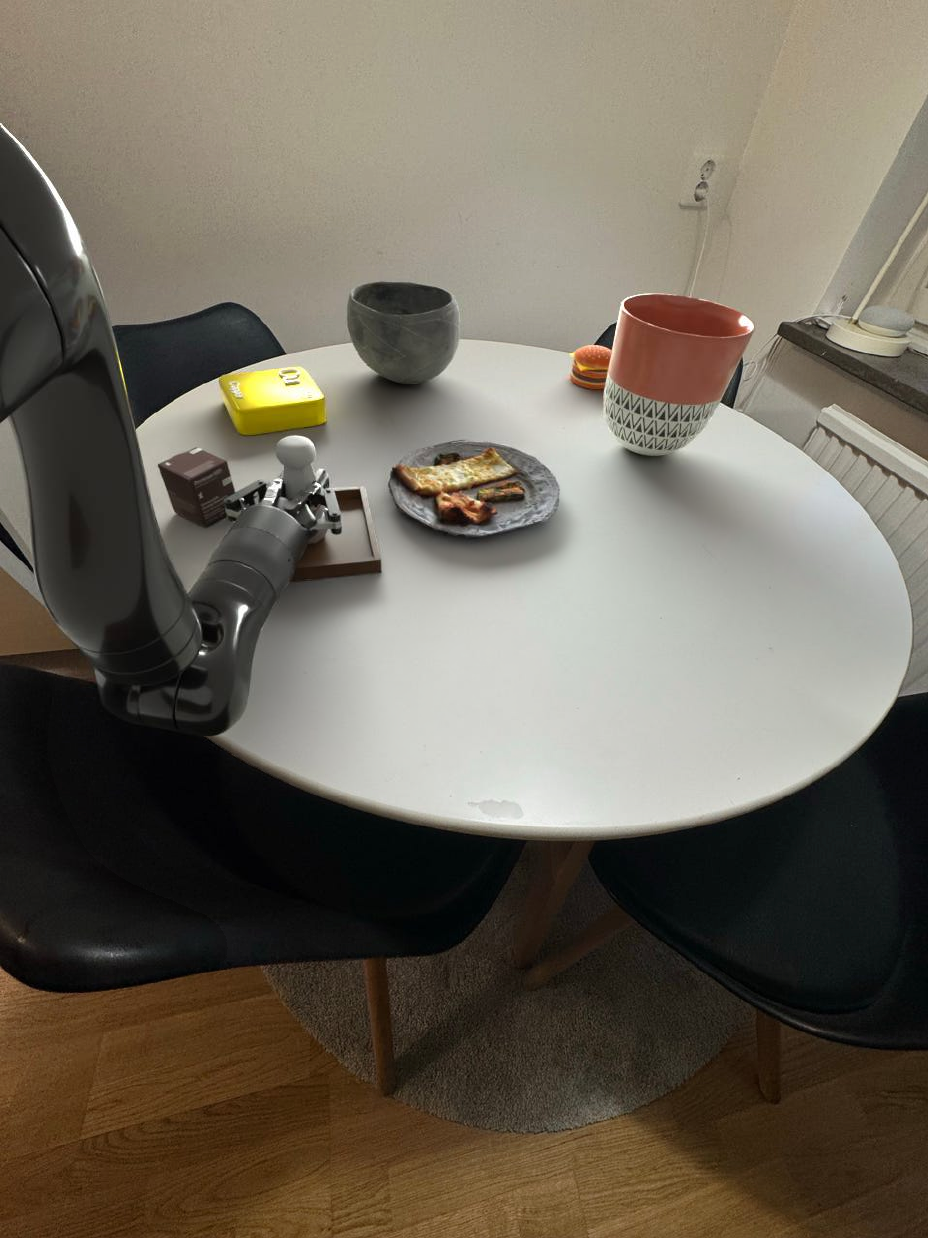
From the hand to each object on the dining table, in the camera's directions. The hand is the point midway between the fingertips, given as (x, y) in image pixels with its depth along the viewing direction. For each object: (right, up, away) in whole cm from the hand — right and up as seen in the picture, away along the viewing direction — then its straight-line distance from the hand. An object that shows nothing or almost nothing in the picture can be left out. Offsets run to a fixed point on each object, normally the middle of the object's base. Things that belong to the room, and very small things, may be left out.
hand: (308, 473), depth 68 cm
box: (-16, -4, +6) cm, 17 cm away
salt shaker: (-1, -7, +3) cm, 8 cm away
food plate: (+21, 0, +14) cm, 25 cm away
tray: (-1, -7, +4) cm, 8 cm away
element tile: (-14, +18, +28) cm, 36 cm away
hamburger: (+46, +32, +48) cm, 74 cm away
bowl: (+7, +30, +42) cm, 52 cm away
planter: (+51, +12, +29) cm, 60 cm away
